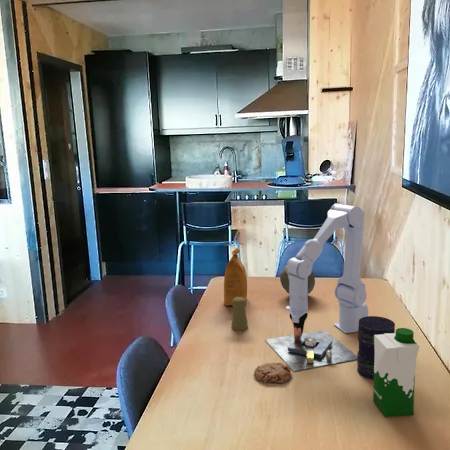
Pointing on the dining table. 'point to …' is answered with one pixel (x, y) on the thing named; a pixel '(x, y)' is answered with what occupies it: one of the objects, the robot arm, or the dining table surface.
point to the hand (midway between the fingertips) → (298, 334)
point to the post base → (302, 358)
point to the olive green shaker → (239, 314)
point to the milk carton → (395, 372)
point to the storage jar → (370, 342)
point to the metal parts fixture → (310, 352)
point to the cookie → (272, 373)
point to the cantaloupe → (285, 281)
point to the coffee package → (234, 279)
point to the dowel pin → (328, 355)
